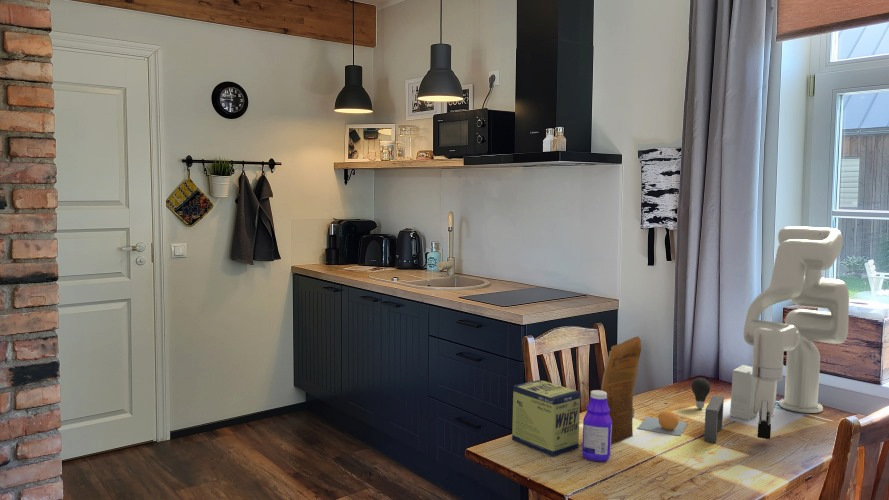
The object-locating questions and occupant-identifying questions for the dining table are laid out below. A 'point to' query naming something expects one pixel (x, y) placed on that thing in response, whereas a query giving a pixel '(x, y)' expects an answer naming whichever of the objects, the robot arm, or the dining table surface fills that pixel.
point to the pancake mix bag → (621, 386)
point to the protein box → (546, 417)
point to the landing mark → (654, 426)
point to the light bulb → (700, 391)
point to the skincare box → (742, 393)
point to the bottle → (597, 428)
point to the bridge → (713, 419)
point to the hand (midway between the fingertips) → (763, 437)
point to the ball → (668, 420)
